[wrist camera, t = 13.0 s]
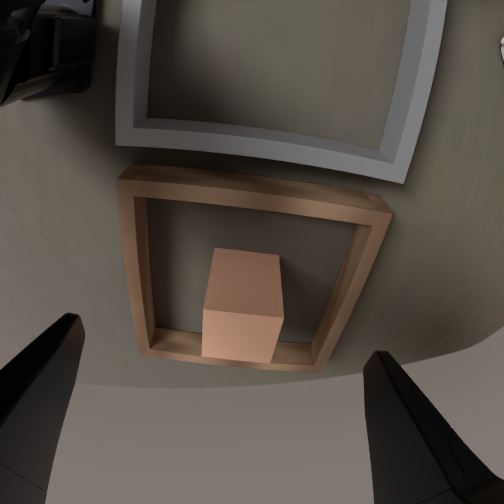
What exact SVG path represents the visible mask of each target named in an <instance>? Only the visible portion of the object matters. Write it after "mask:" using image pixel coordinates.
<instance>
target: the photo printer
mask: <svg viewBox="0 0 504 504" xmlns="http://www.w3.org/2000/svg"><path fill="white" fill-rule="evenodd" d="M501 44H502V46H501V53H502V58H503V61H504V37H503V39H502V40H501Z"/></svg>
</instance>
